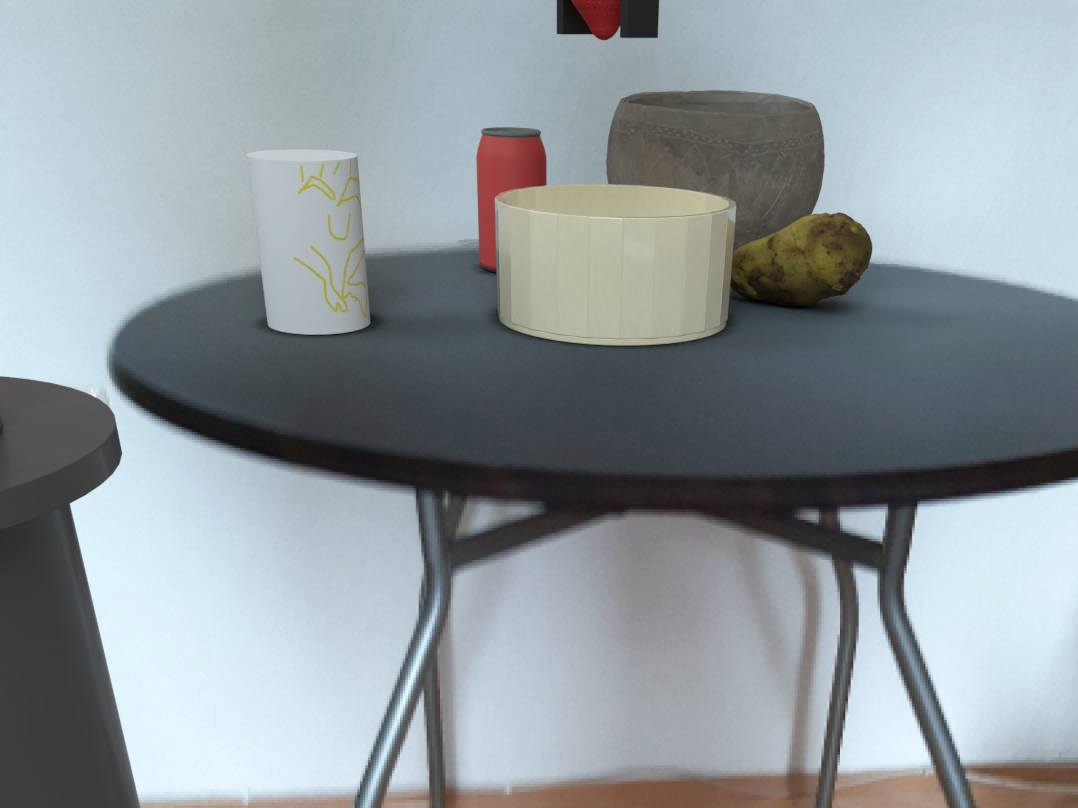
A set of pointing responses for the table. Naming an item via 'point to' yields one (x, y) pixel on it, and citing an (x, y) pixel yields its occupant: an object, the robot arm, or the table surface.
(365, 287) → the cup
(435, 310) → the table surface
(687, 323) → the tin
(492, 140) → the beer can
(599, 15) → the strawberry
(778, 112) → the bowl
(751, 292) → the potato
